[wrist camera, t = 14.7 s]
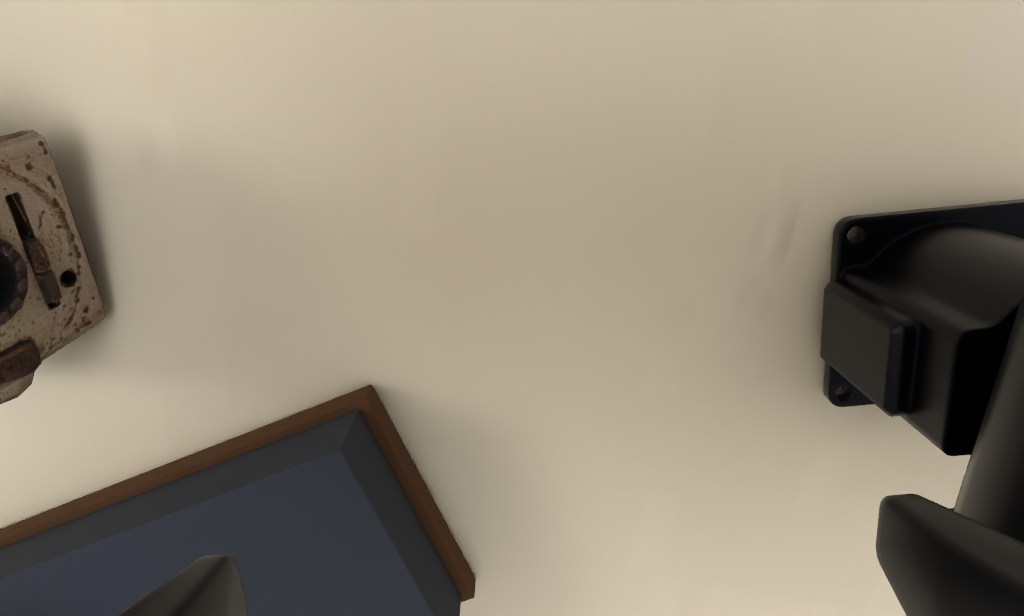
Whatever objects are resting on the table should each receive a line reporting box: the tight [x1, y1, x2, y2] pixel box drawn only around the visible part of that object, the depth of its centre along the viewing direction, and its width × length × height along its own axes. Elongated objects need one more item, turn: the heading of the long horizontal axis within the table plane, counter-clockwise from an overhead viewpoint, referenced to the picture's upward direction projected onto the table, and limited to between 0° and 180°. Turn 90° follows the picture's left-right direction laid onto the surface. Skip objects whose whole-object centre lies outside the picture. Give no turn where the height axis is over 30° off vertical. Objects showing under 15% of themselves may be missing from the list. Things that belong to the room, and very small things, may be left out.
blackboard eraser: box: [0, 385, 475, 616], centre depth 23 cm, size 18×9×4 cm, turn 113°
